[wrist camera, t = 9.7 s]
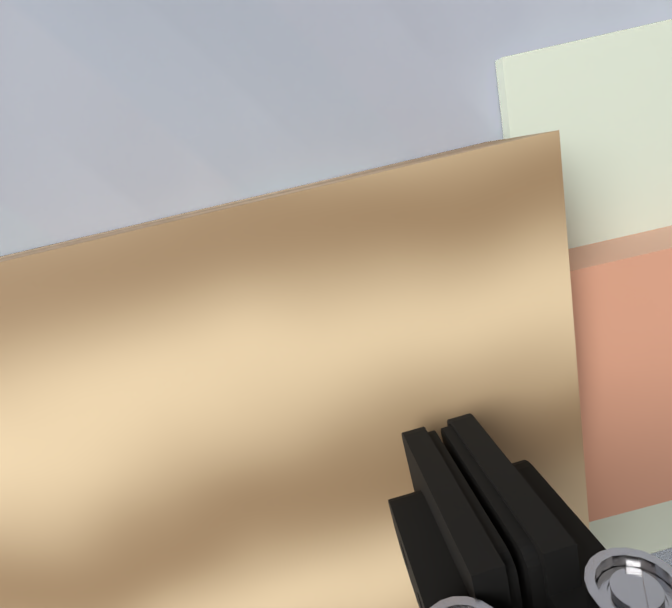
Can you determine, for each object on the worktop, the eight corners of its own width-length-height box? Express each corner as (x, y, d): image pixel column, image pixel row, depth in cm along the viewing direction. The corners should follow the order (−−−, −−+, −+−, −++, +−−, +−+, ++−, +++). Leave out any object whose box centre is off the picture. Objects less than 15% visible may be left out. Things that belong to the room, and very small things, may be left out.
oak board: (-92, 278, 12) (-234, 317, 9) (486, 142, 13) (558, 129, 10) (102, 656, 16) (55, 783, 13) (533, 534, 17) (596, 622, 14)
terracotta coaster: (514, 261, 14) (553, 275, 12) (763, 204, 14) (839, 208, 12) (534, 484, 16) (569, 527, 14) (747, 429, 16) (810, 463, 14)
